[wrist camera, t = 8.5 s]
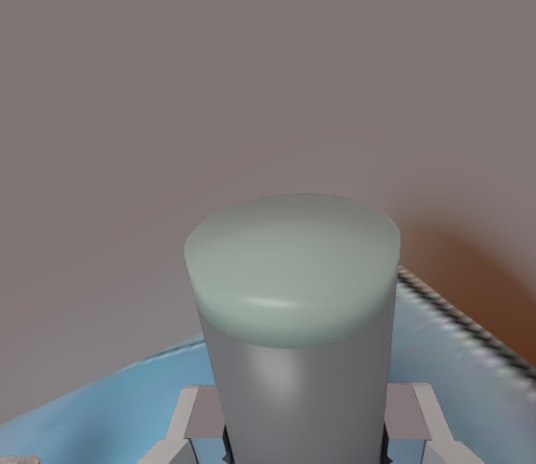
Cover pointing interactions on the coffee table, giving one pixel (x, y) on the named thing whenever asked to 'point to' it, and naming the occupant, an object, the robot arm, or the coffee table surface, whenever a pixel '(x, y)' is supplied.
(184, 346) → the coffee table surface
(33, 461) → the bull figurine
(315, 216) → the grey domed cylinder
